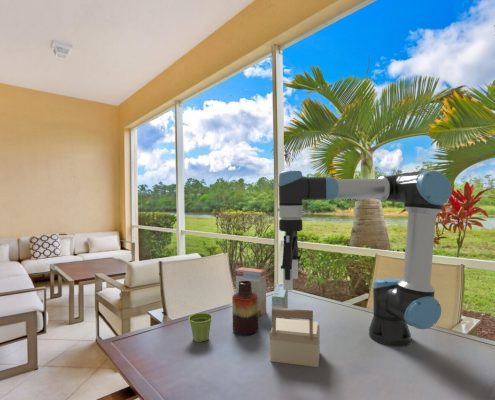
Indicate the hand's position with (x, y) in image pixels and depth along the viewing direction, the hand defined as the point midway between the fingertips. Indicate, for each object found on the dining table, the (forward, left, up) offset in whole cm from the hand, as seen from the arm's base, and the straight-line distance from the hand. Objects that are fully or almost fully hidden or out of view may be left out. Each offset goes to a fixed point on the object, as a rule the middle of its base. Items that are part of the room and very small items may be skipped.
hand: (291, 283), depth 104 cm
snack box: (+10, -36, -28) cm, 46 cm away
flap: (0, -6, -18) cm, 18 cm away
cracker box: (+26, -46, -28) cm, 59 cm away
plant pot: (+38, -13, -28) cm, 49 cm away
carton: (0, -8, -28) cm, 29 cm away
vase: (+23, -25, -28) cm, 44 cm away
